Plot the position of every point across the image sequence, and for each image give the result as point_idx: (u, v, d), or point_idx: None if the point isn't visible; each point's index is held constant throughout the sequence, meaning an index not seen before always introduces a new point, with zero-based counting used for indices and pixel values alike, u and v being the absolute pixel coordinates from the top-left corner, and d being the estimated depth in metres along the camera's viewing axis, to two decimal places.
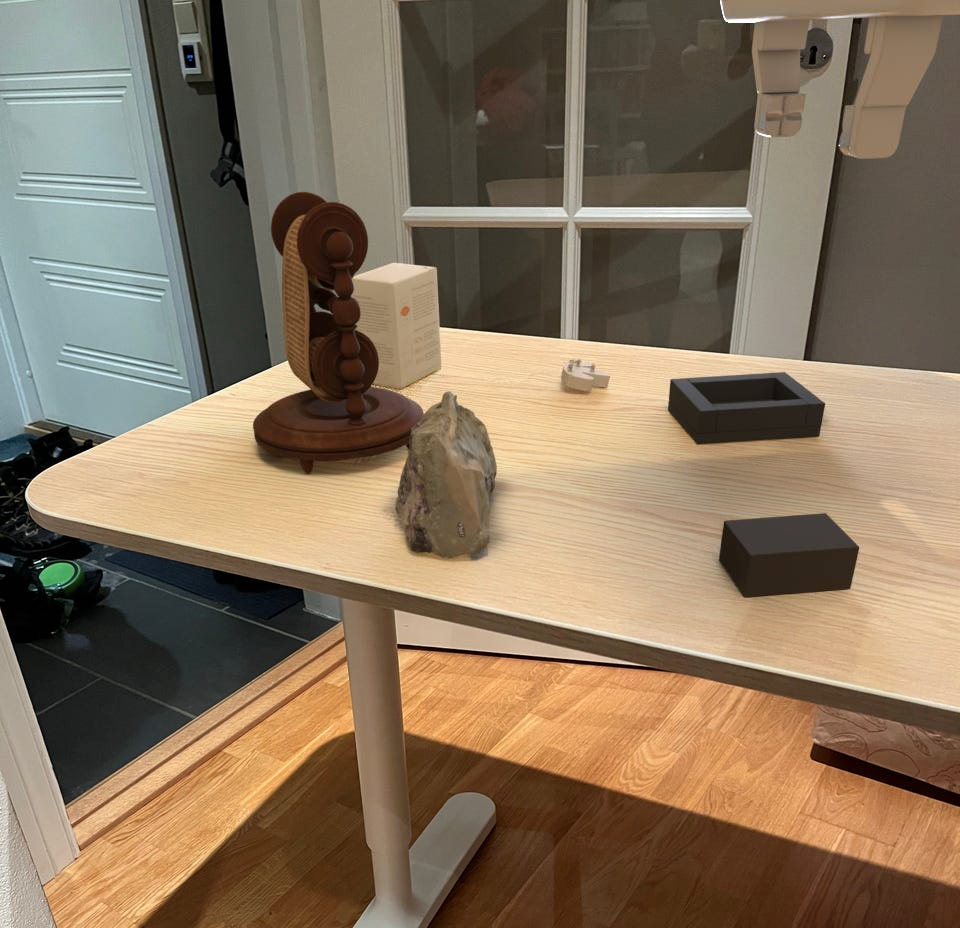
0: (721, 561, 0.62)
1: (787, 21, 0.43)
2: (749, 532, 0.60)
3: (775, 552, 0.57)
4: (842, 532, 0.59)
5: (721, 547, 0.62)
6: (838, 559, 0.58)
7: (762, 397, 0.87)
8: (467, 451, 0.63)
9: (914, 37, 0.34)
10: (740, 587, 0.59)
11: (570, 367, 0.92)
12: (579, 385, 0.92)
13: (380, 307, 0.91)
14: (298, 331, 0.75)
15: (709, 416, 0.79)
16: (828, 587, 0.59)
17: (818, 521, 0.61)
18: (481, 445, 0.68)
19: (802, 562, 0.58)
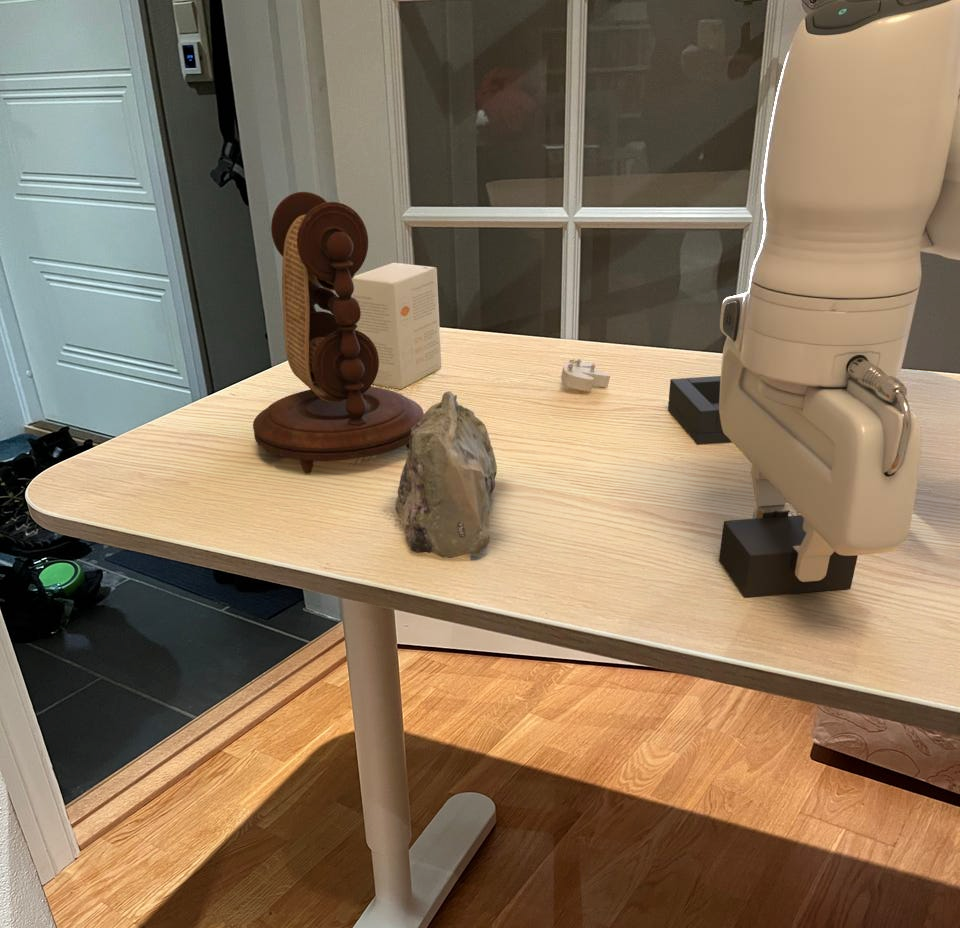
0: (721, 561, 0.62)
1: None
2: (749, 532, 0.60)
3: (775, 552, 0.57)
4: None
5: (721, 547, 0.62)
6: (838, 559, 0.58)
7: None
8: (467, 451, 0.63)
9: None
10: (740, 587, 0.59)
11: (570, 367, 0.92)
12: (579, 385, 0.92)
13: (380, 307, 0.91)
14: (298, 330, 0.75)
15: (709, 416, 0.79)
16: (828, 587, 0.59)
17: None
18: (481, 445, 0.68)
19: None
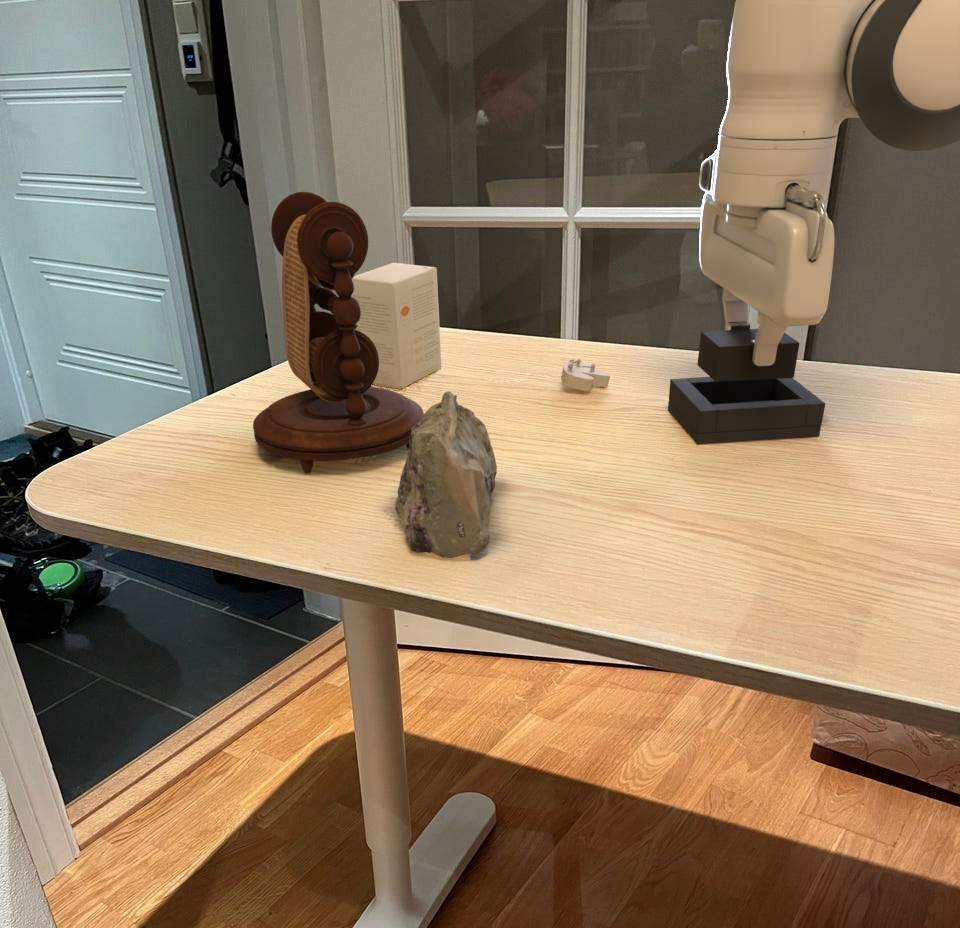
0: (699, 364, 0.83)
1: None
2: (719, 336, 0.81)
3: (737, 345, 0.78)
4: (788, 336, 0.80)
5: (699, 353, 0.83)
6: (784, 352, 0.79)
7: (762, 397, 0.87)
8: (467, 451, 0.63)
9: None
10: (712, 375, 0.80)
11: (570, 367, 0.92)
12: (579, 385, 0.92)
13: (380, 307, 0.91)
14: (298, 330, 0.75)
15: (709, 416, 0.79)
16: (777, 376, 0.80)
17: None
18: (481, 445, 0.68)
19: None
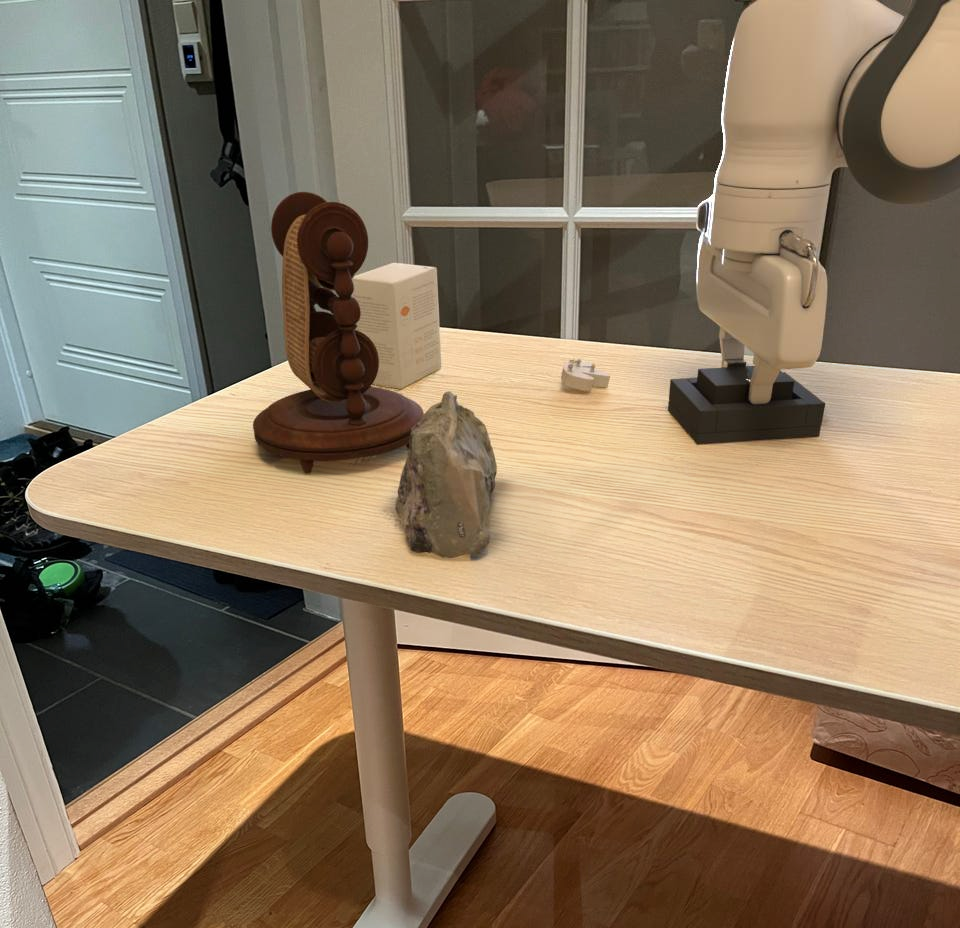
0: None
1: None
2: (716, 374, 0.82)
3: (733, 384, 0.80)
4: (783, 374, 0.82)
5: None
6: (779, 391, 0.81)
7: None
8: (467, 451, 0.63)
9: None
10: None
11: (570, 367, 0.92)
12: (579, 385, 0.92)
13: (380, 307, 0.91)
14: (298, 330, 0.75)
15: (709, 416, 0.79)
16: None
17: None
18: (481, 445, 0.68)
19: None
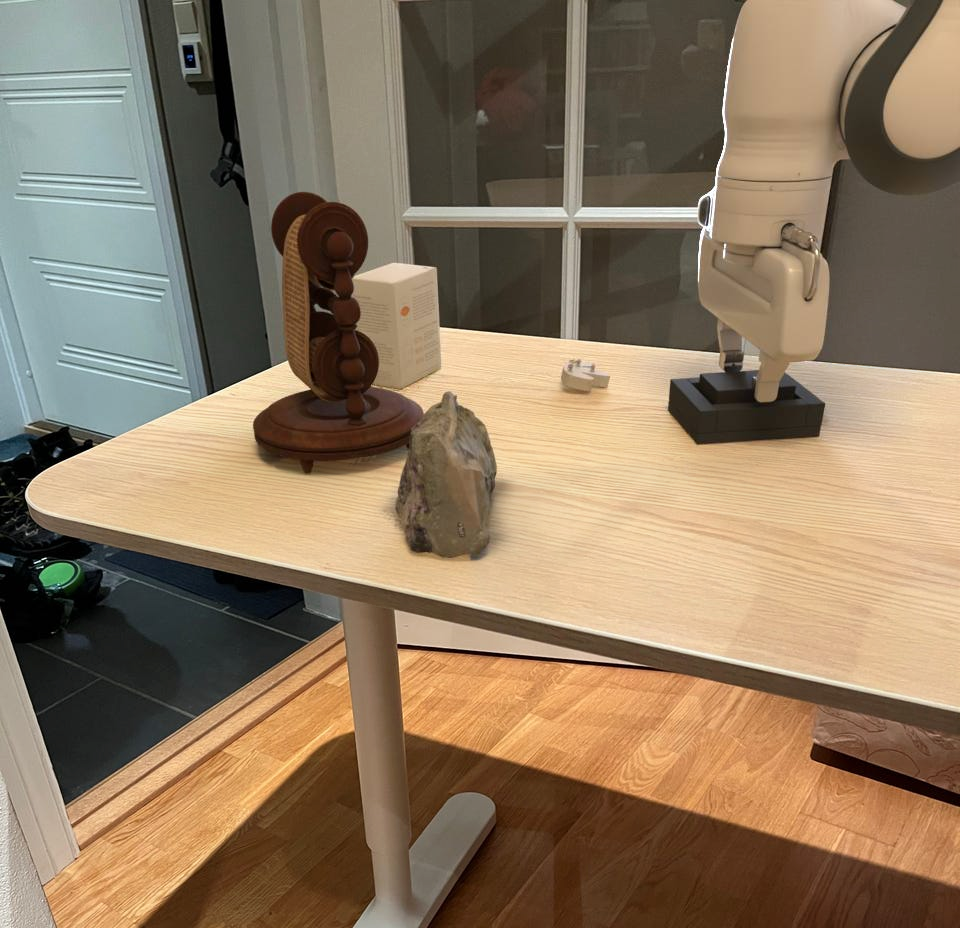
0: None
1: None
2: (718, 379, 0.83)
3: (735, 389, 0.80)
4: (785, 378, 0.82)
5: None
6: (781, 395, 0.81)
7: None
8: (467, 451, 0.63)
9: None
10: None
11: (570, 367, 0.92)
12: (579, 385, 0.92)
13: (380, 307, 0.91)
14: (298, 330, 0.75)
15: (709, 416, 0.79)
16: None
17: None
18: (481, 445, 0.68)
19: None
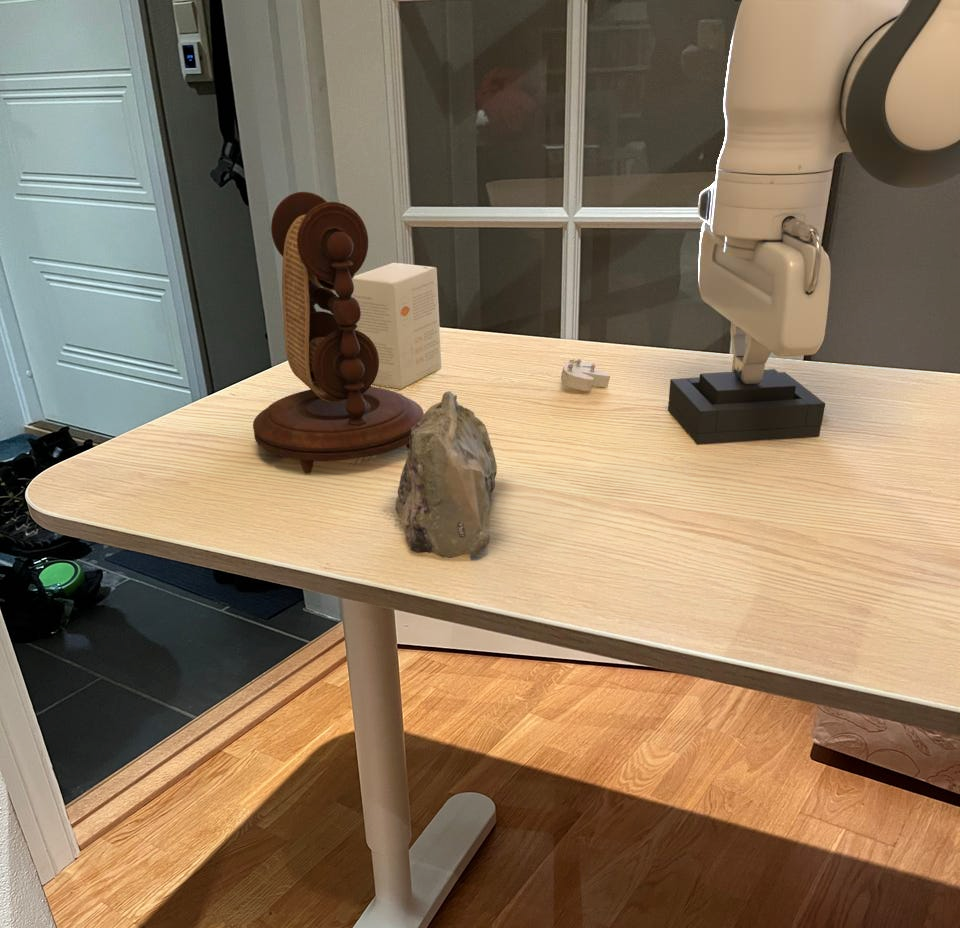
0: None
1: None
2: (718, 379, 0.83)
3: (735, 389, 0.80)
4: (785, 378, 0.82)
5: None
6: (781, 395, 0.81)
7: None
8: (467, 451, 0.63)
9: None
10: None
11: (570, 367, 0.92)
12: (579, 385, 0.92)
13: (380, 307, 0.91)
14: (298, 330, 0.75)
15: (709, 416, 0.79)
16: None
17: (768, 373, 0.84)
18: (481, 445, 0.68)
19: (755, 397, 0.81)
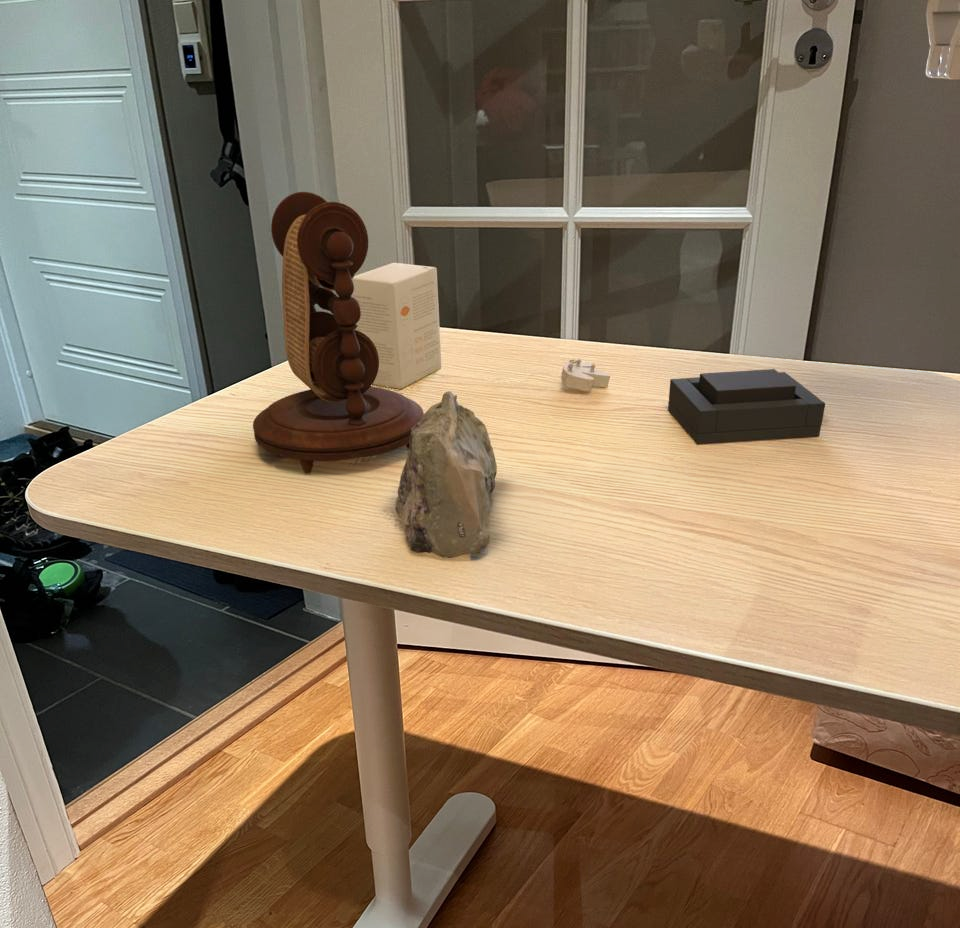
0: None
1: None
2: (718, 379, 0.83)
3: (735, 389, 0.80)
4: (785, 378, 0.82)
5: None
6: (781, 395, 0.81)
7: None
8: (467, 451, 0.63)
9: None
10: None
11: (570, 367, 0.92)
12: (579, 385, 0.92)
13: (380, 307, 0.91)
14: (298, 330, 0.75)
15: (709, 416, 0.79)
16: None
17: (768, 373, 0.84)
18: (481, 445, 0.68)
19: (755, 397, 0.81)
